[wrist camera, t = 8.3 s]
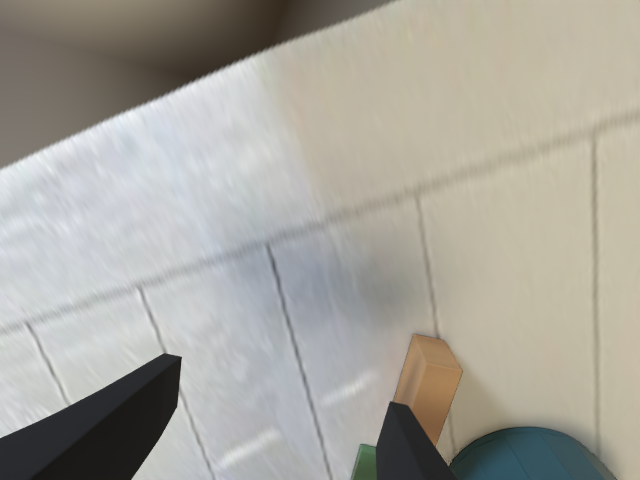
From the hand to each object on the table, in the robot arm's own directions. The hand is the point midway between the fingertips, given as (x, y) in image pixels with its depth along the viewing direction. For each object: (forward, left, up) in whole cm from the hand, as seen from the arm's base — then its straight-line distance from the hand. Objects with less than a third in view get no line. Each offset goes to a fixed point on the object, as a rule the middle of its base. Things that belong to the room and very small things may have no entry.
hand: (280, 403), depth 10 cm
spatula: (-10, -9, -10) cm, 17 cm away
